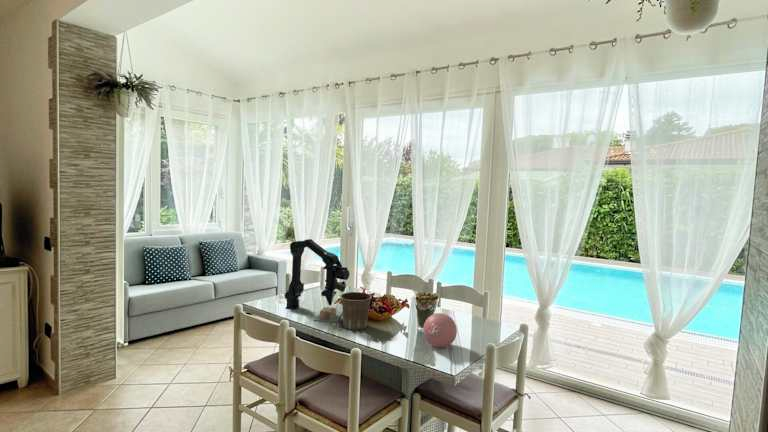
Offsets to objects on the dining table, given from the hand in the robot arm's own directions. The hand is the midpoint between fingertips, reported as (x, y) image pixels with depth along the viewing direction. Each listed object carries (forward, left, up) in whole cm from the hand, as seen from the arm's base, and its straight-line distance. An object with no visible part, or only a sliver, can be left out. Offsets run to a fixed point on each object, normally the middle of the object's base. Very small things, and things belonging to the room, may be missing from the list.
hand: (330, 305), depth 227 cm
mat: (0, -2, -6) cm, 6 cm away
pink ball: (+59, -36, -6) cm, 69 cm away
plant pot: (+17, -15, -6) cm, 24 cm away
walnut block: (0, 0, -3) cm, 3 cm away
